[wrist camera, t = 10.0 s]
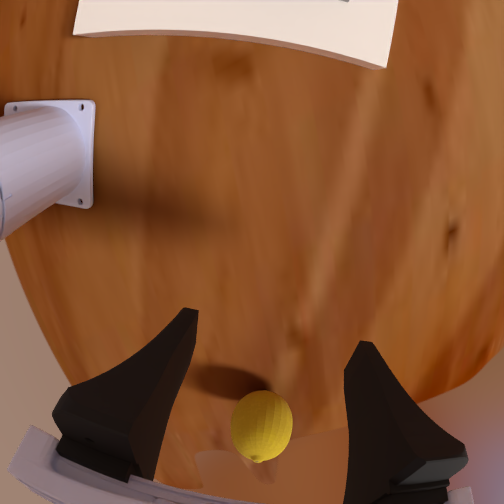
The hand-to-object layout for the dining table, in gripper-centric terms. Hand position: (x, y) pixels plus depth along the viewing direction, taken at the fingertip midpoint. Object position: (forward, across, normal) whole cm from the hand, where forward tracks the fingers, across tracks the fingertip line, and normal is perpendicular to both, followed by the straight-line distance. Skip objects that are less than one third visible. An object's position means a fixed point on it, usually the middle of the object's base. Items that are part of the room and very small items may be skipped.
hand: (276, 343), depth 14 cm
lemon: (+10, -2, +16) cm, 19 cm away
